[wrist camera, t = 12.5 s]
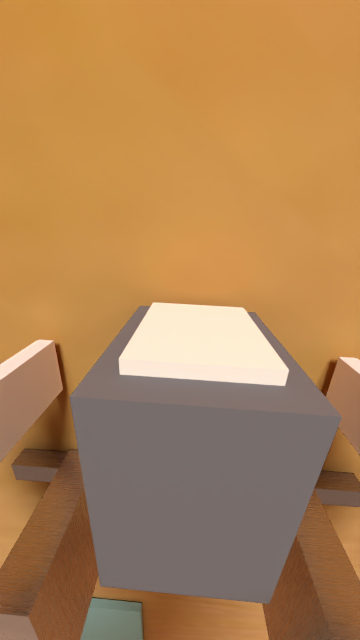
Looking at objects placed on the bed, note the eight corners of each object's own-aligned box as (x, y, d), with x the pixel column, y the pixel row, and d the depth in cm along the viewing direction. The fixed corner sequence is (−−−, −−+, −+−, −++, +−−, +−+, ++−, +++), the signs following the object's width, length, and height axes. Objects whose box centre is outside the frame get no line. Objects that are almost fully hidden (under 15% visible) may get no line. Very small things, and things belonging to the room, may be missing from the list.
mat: (76, 638, 23) (73, 646, 22) (63, 594, 19) (59, 603, 19) (143, 645, 22) (142, 654, 22) (141, 602, 19) (140, 612, 19)
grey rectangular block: (142, 425, 12) (100, 586, 7) (140, 296, 10) (66, 378, 4) (233, 432, 12) (269, 603, 6) (255, 303, 9) (348, 399, 4)
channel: (47, 527, 16) (-32, 685, 10) (23, 446, 13) (-104, 603, 7) (318, 551, 15) (392, 734, 10) (354, 471, 12) (489, 665, 7)
